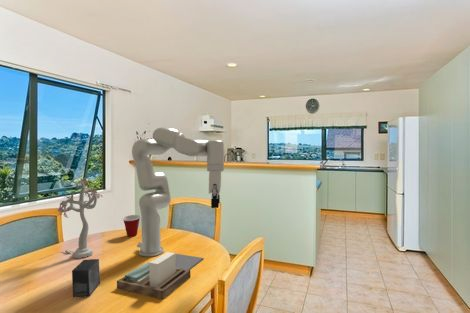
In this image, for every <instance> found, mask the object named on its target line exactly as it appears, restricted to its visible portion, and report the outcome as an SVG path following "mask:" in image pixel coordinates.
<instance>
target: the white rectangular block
mask: <svg viewBox="0 0 470 313" xmlns="http://www.w3.org/2000/svg"><path fill="white" fill-rule="evenodd" d="M175 254H176V253H175V252H169V251H167V252H165V253H164V254H163V253H162V255H161V254H160V255H159V256H158V257H156V258H155V259H153V260H151V261H148V262H149V277H150V286H151V287H155V288H157V287H158V286H159V285H161V284H162V283H163V282H165V281H166V280H168V279H169V278H170V277H172V276H173V275H174V274H176V260H175Z"/></svg>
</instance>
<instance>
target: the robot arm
mask: <svg viewBox="0 0 470 313" xmlns="http://www.w3.org/2000/svg"><path fill="white" fill-rule="evenodd" d="M224 145H225V144H224V141H222V140H218V139H215V140H214V139H213V140H207V139H191V138H187V137H186V136H185V134H184V133H182V132H180V131H178V129H176V128H172V127H171V128H170V127H159V128H158V127H157V128H156V129H154V131H152V138H141V139H140V138H139V139H138V140H136V141H135V142H134V143H133V145H132V148H131V155H132V159H133V161H134V165H135V169H136V175H137V181H138V186H139V188H140V190H141V191H153V192H147V193H145V194H143V195H141V197H139V201H138V206H139V209H140V210H139V211H140V219H141V222H140V223H141V242H138V243H137V244H136V248H140V249H139V250H138V254H139V256H141V257H146V258H147V257H155V256H160V255H161V254H163V253H164V251H165V249H164V247H162V246H161V244H162V242H161V236H162V235H161V217H160V214H159V213H158V210H162V209H164V208H167V207H169V205H170V203H171V198H172V197H171V192H170V187H169V181H168V178H167V175H166V174H165V173H164V172H162V171H154V167H153V166H154V165H153V162H152V160H151V159H150V158H149V157H148V156H155V155H163V154H165V153H166V152H168V151H169V150H170V149H173V150H174V151H176V152H177V153H180V154H181V155H185V156H189V157H193V158H194V157H195V158H196V157H206V172H208V194H210V195H211V199H210V207H211V209H219V208H220V206H219V205H220V199H221V197H220V193H221V187H222V186H221V185H222V172H224V171H225V168H224V167H225V165H224V164H225V162H224V161H225V159H224V157H225V156H224V154H225V153H224V152H225V151H224V150H225V149H224V148H225V147H224ZM154 190H155V191H154Z"/></svg>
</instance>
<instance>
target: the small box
mask: <svg viewBox="0 0 470 313" xmlns="http://www.w3.org/2000/svg"><path fill="white" fill-rule="evenodd" d="M100 278H101V277H100V259H99V258H95V259H94V258H93V259H83V260H81V262H80V263H79V264H77V266H76V267H74V268H73V269H72V270H71V279H72V282H71V283H72V298H88V297H87V296H90V297H91V295H92V294H93V293H94V292H95V290H96V289H97V288H98V286H100V285H101V279H100ZM85 296H86V297H85Z"/></svg>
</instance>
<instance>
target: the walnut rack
mask: <svg viewBox="0 0 470 313" xmlns="http://www.w3.org/2000/svg"><path fill="white" fill-rule="evenodd" d="M190 278H191V269H190V270H187V269H181V268H176V274H174V275H173V276H172V277H170V278H169V279H168V280H166V281H165V282H163V283H162V284H161V285H159V286H158V287H157V288H155V287H151V286H150V279H148V280H147V281H145V282H144V283H142V284H137V283H132V282H128V281H127V279H125V276H123V277H122V278H120V279H118V280H117V281H116V289H119V290H123V291H126V292H129V293H130V292H131V293H135V294H138V295H139V294H140V295H144V296H148V297H154V298H156V299H157V298H158V299H160V300H161V299H162V300H164V299H166V298H167V297H168V296H169V295H171V294H172V293H173V292H174V291H176V290H177V289H178V288H179V287H180V286H181V285H183V283H185V282H186V281H187V280H189V279H190Z"/></svg>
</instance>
